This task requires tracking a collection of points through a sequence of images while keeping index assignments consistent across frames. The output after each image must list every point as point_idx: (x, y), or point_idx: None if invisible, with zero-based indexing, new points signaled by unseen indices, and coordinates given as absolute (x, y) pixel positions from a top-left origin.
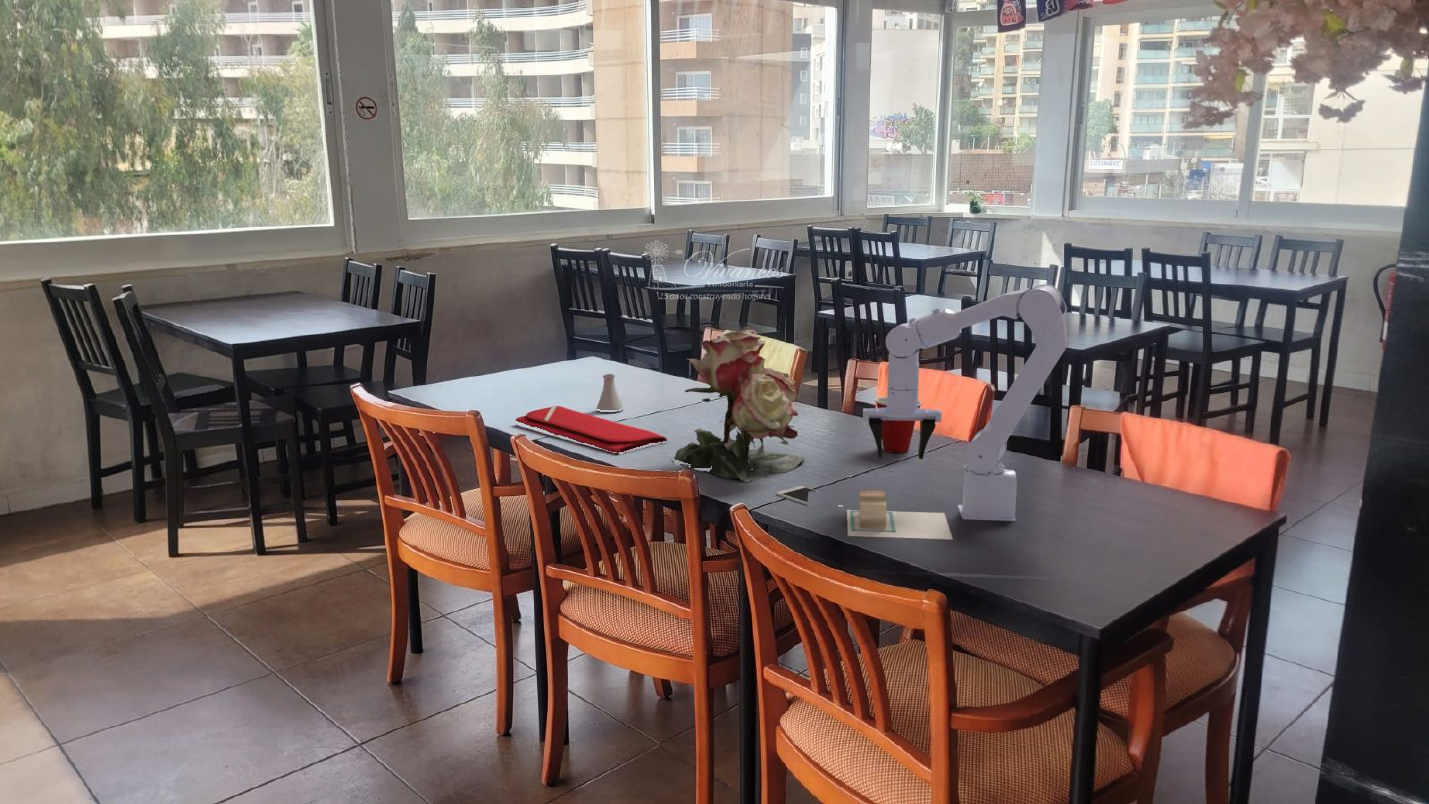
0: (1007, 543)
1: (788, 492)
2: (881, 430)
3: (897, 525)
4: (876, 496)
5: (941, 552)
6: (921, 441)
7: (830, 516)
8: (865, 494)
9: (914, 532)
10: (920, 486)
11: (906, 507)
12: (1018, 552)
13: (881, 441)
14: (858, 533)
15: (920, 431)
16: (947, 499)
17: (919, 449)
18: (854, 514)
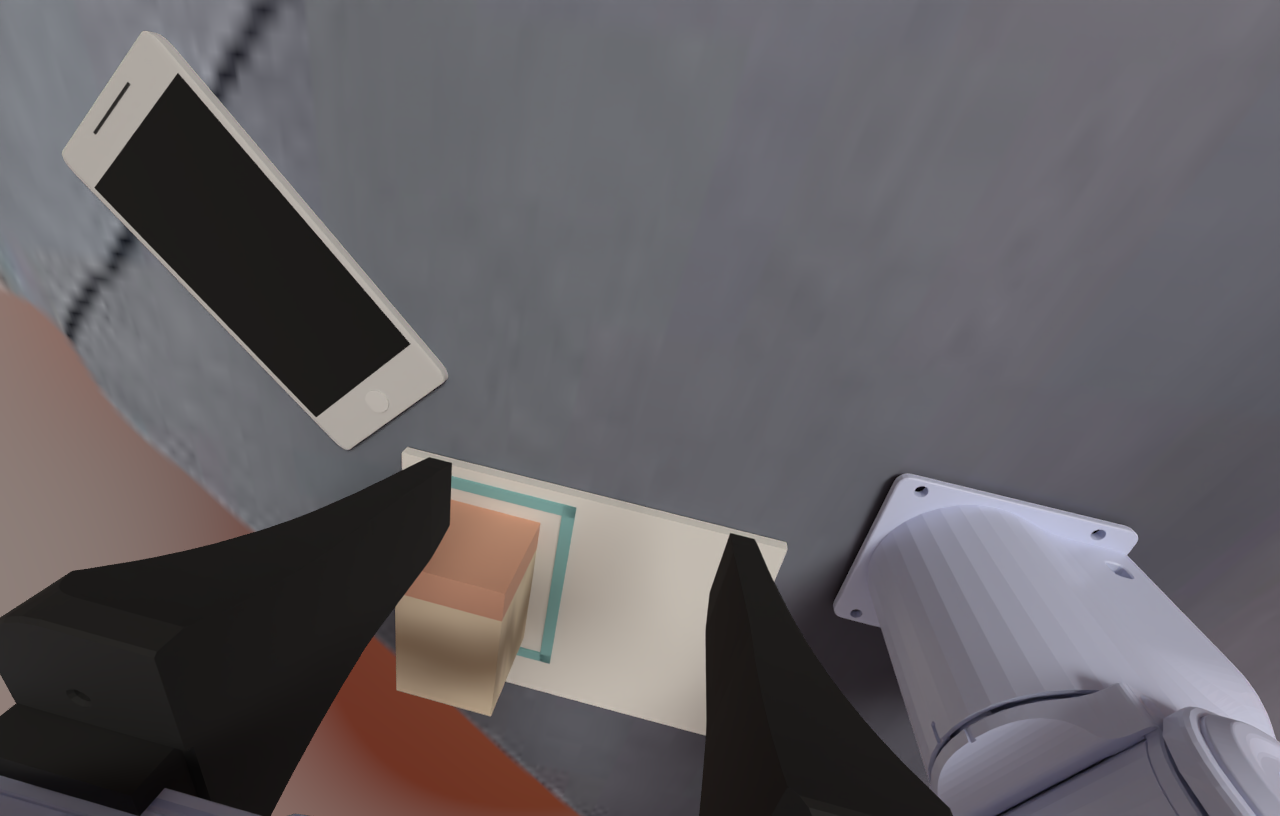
0: None
1: (118, 168)
2: (281, 776)
3: (567, 619)
4: (461, 637)
5: (650, 766)
6: (705, 750)
7: (349, 474)
8: (417, 609)
9: (608, 675)
10: (880, 66)
11: (663, 427)
12: None
13: (363, 648)
14: None
15: (746, 723)
16: (917, 346)
17: (722, 609)
18: None
